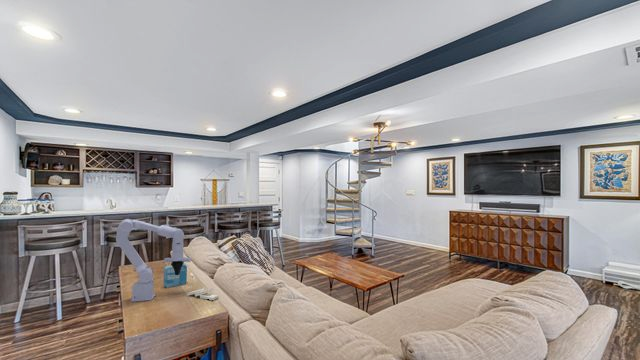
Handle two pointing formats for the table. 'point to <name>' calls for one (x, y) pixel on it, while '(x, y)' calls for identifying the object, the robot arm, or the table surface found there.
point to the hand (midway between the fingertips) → (177, 274)
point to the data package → (174, 276)
